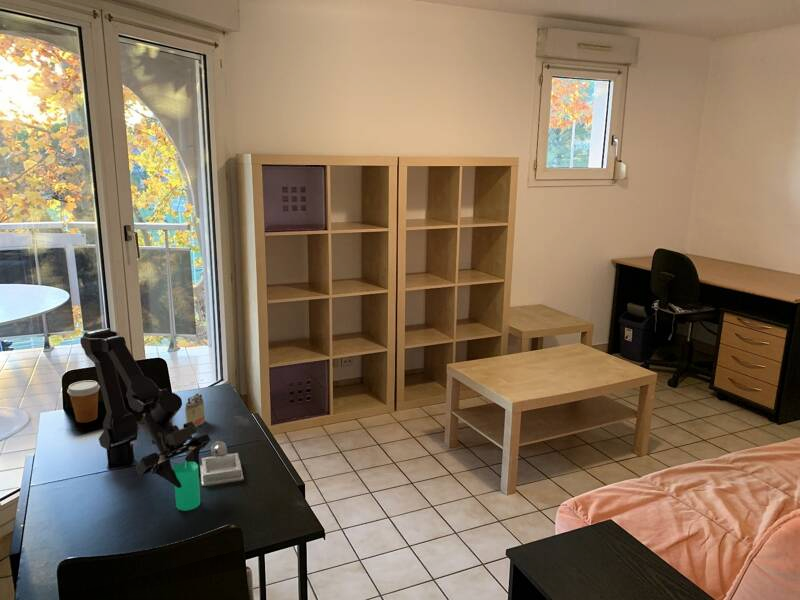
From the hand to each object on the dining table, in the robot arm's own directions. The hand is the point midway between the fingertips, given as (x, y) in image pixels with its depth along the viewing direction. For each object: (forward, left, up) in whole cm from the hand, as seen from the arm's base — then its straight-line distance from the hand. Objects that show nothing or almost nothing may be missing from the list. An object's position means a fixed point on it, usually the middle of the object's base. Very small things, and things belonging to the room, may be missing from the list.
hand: (190, 482), depth 153 cm
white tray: (+8, +17, -7) cm, 20 cm away
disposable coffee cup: (-32, +64, -7) cm, 72 cm away
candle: (-1, +1, -7) cm, 7 cm away
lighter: (+2, +49, -7) cm, 50 cm away
